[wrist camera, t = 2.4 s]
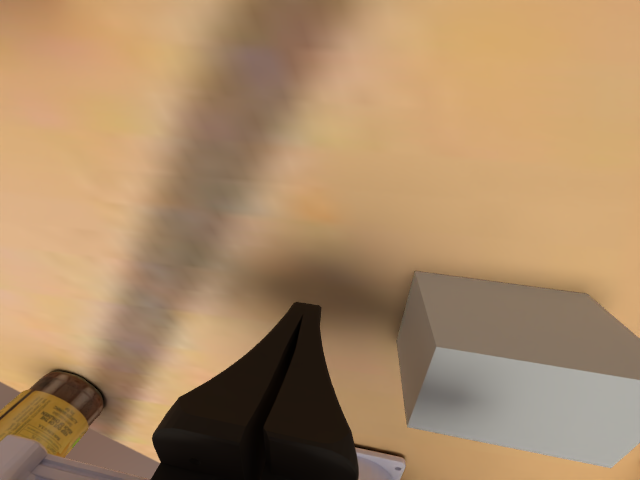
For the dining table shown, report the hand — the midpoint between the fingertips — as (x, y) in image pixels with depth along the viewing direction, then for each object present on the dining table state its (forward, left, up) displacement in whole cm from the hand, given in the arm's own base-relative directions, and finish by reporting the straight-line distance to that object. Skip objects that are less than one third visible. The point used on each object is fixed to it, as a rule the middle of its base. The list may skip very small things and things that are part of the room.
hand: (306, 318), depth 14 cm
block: (0, -9, -2) cm, 9 cm away
